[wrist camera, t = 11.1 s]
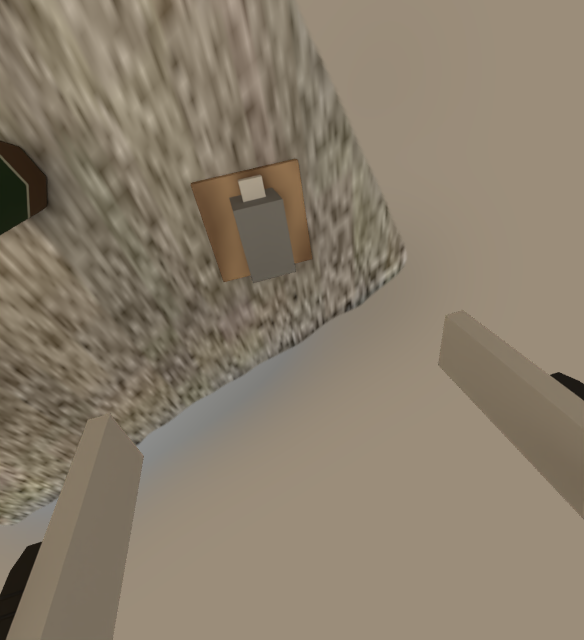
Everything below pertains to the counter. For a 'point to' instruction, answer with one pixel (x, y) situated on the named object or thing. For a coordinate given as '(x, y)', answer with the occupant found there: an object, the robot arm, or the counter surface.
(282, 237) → the plug
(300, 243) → the walnut board
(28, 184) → the beer bottle
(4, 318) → the counter surface
